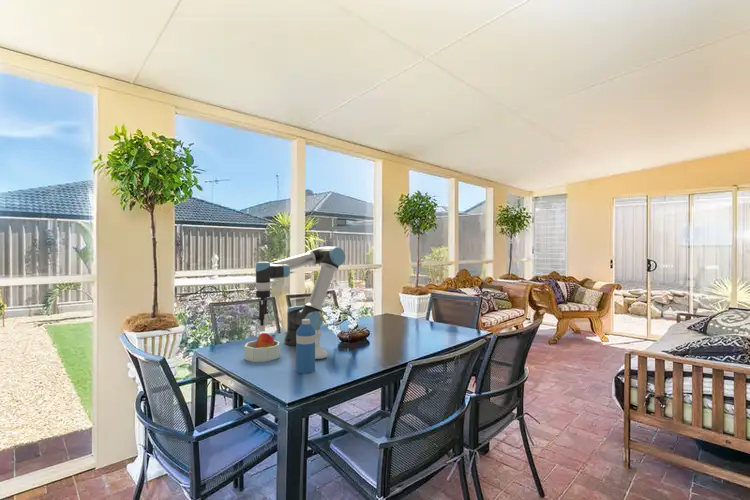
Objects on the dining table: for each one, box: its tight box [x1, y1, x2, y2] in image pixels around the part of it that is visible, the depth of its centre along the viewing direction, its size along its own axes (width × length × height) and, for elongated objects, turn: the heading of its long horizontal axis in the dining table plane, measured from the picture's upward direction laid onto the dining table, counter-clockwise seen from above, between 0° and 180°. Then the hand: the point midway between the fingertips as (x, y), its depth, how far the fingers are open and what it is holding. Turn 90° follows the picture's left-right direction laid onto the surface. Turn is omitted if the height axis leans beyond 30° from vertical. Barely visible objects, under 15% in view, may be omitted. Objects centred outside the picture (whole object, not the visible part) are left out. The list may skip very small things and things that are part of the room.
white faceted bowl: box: [243, 339, 281, 363], centre depth 207 cm, size 18×18×7 cm
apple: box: [256, 332, 275, 348], centre depth 210 cm, size 10×10×10 cm
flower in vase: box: [315, 311, 329, 360], centre depth 207 cm, size 13×11×25 cm
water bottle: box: [295, 319, 316, 375], centre depth 185 cm, size 9×9×25 cm
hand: (263, 328), depth 208 cm, fingers open, 13 cm apart
